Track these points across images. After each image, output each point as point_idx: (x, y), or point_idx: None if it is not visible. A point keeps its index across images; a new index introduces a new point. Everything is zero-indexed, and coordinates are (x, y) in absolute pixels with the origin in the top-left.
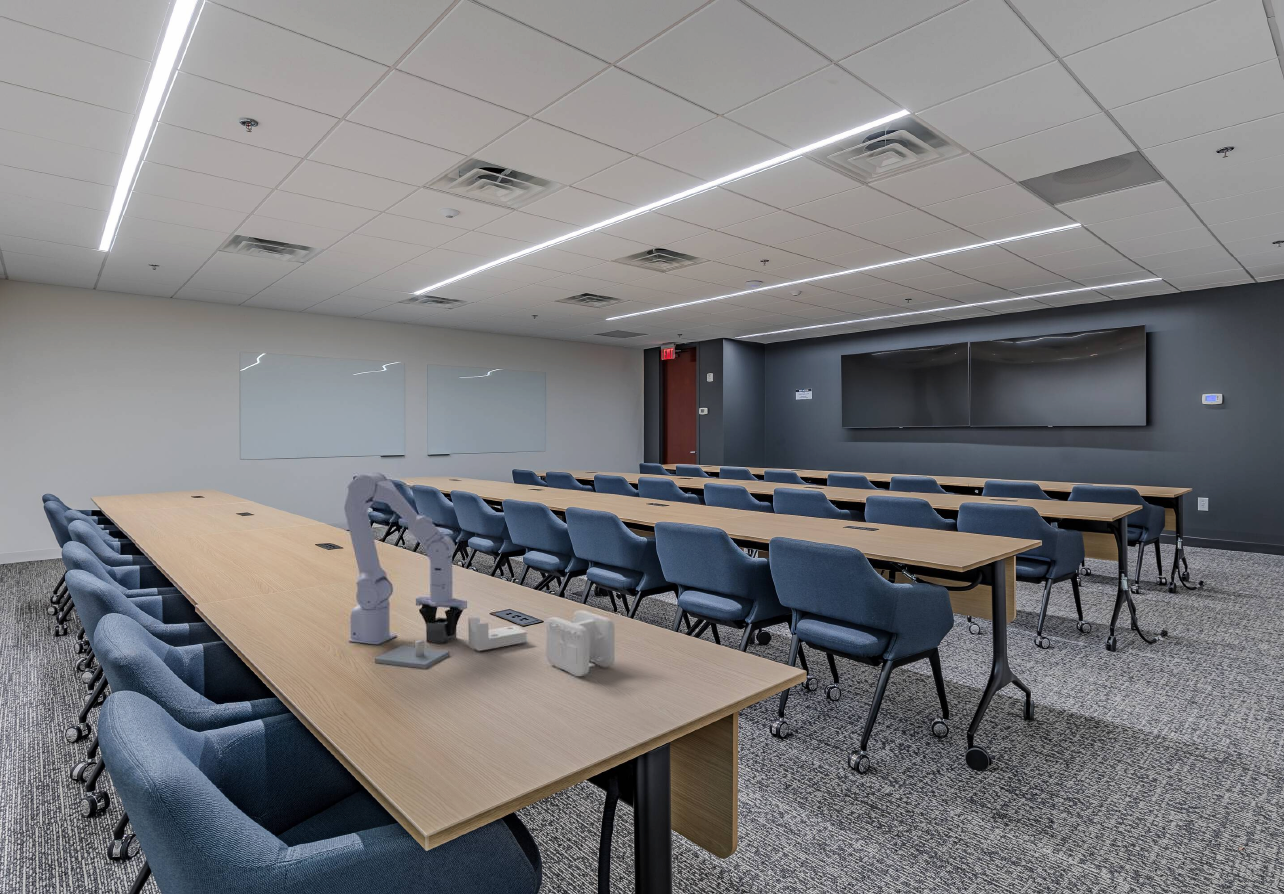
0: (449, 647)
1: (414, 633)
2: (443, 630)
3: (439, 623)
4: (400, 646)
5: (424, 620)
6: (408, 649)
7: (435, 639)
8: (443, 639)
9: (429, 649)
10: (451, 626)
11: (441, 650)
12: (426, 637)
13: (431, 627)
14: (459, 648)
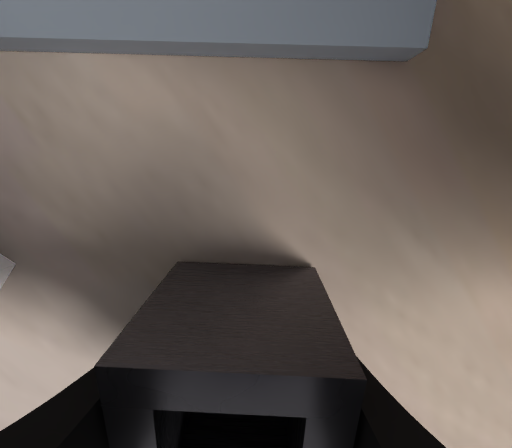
0: (102, 208)
1: (469, 380)
2: (144, 315)
3: (181, 384)
4: (426, 22)
5: (425, 429)
6: None
7: (243, 273)
8: (176, 274)
9: (123, 25)
10: None
11: (9, 30)
12: (319, 279)
13: (282, 334)
14: (29, 207)
